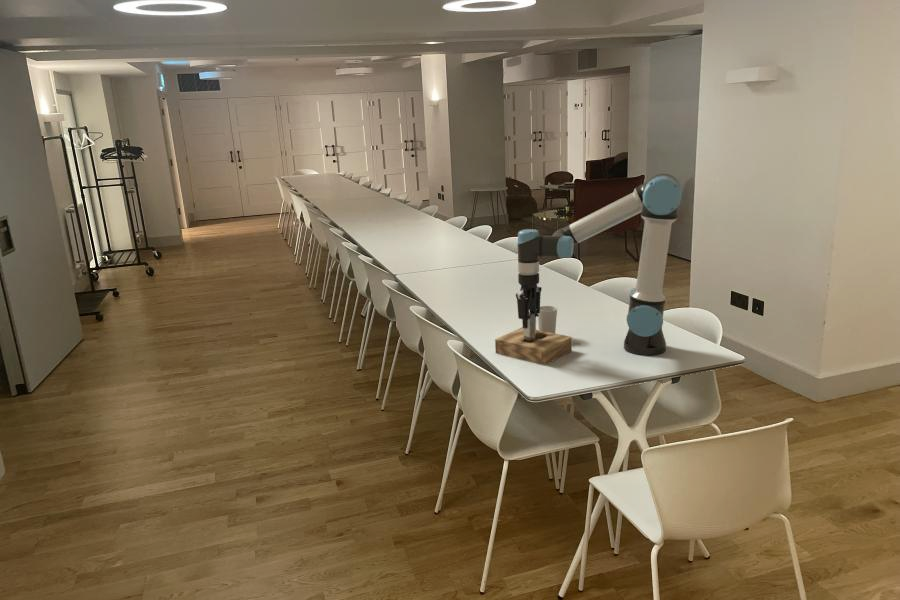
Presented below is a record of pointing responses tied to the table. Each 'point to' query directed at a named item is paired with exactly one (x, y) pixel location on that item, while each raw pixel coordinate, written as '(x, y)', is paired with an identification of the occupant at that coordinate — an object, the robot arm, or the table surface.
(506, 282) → the table surface
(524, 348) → the keyhole box
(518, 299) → the robot arm
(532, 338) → the stud
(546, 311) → the cup
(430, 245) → the table surface
